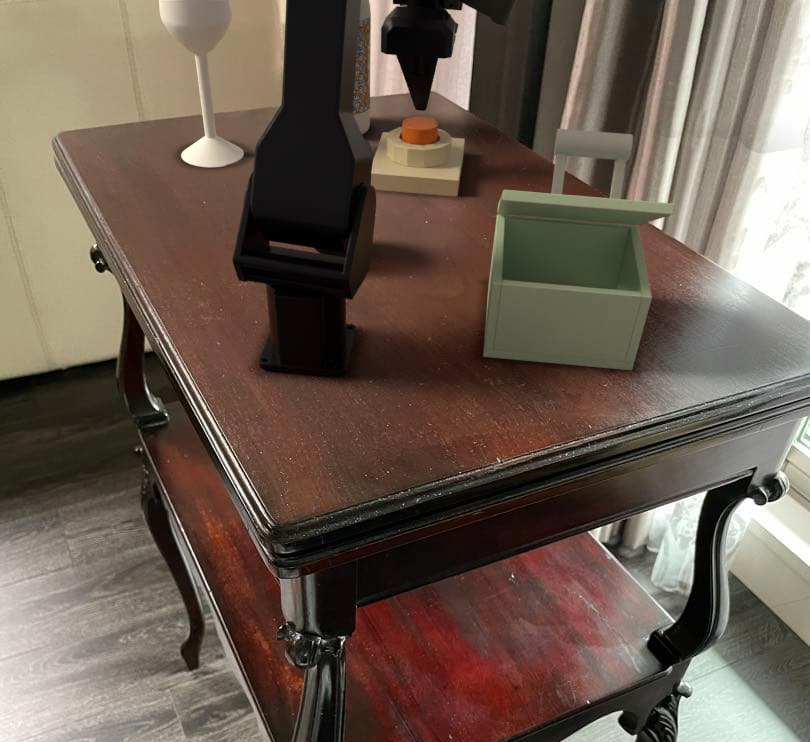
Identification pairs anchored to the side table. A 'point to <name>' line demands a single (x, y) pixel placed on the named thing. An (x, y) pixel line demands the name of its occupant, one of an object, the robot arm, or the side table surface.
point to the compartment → (566, 292)
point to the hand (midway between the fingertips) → (421, 109)
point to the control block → (418, 165)
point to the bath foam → (363, 70)
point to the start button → (419, 131)
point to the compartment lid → (584, 206)
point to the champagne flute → (202, 69)
